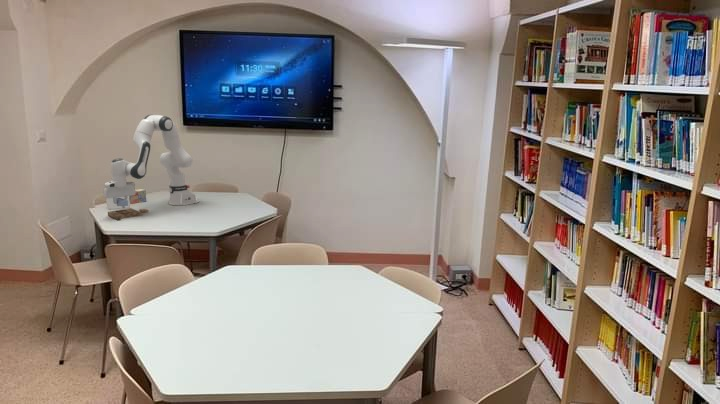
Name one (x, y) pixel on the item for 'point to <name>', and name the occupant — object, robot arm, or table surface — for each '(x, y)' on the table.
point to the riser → (144, 210)
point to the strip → (121, 202)
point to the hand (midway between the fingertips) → (120, 203)
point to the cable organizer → (112, 205)
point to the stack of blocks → (138, 197)
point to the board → (123, 213)
